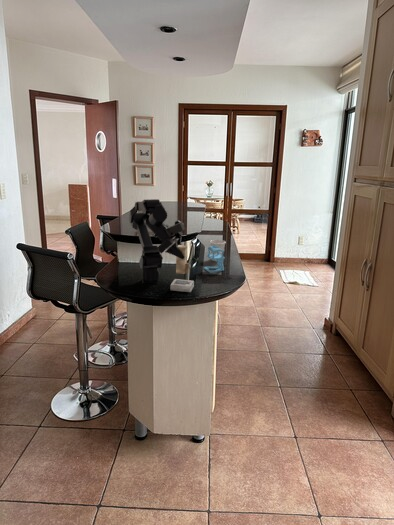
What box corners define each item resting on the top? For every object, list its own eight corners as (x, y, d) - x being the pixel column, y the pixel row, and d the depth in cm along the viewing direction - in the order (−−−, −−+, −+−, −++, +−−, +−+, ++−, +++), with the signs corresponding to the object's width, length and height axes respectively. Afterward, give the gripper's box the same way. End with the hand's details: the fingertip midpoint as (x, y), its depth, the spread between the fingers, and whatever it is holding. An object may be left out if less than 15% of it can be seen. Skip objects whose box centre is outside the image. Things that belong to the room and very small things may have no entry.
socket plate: (170, 290, 149) (170, 284, 149) (174, 284, 156) (174, 278, 155) (190, 292, 148) (190, 286, 147) (193, 286, 155) (194, 280, 154)
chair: (226, 272, 175) (227, 247, 172) (210, 273, 172) (211, 248, 168) (219, 267, 182) (220, 243, 178) (203, 268, 179) (205, 244, 175)
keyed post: (176, 273, 149) (176, 246, 146) (178, 270, 152) (178, 244, 149) (187, 274, 148) (188, 247, 145) (189, 271, 151) (189, 245, 148)
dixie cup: (218, 263, 189) (219, 244, 186) (205, 259, 193) (206, 241, 190) (227, 259, 195) (228, 241, 192) (214, 256, 200) (215, 238, 197)
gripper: (166, 218, 135) (194, 250, 137) (178, 211, 153) (203, 239, 154) (145, 238, 139) (173, 268, 140) (160, 228, 157) (184, 255, 158)
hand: (184, 257), depth 148 cm, fingers closed on keyed post, 3 cm apart
